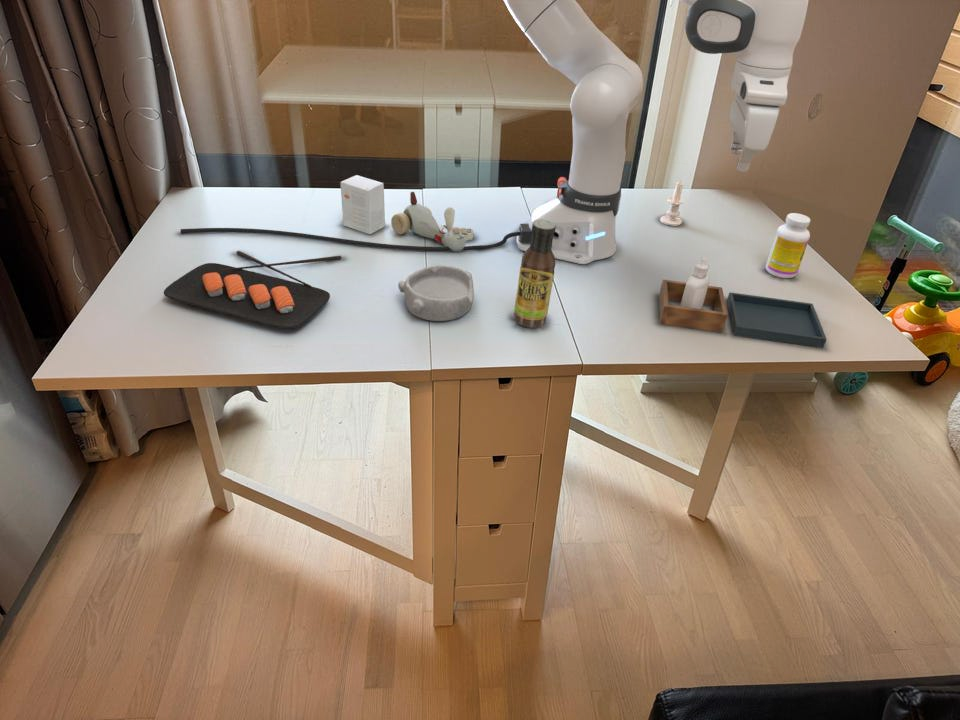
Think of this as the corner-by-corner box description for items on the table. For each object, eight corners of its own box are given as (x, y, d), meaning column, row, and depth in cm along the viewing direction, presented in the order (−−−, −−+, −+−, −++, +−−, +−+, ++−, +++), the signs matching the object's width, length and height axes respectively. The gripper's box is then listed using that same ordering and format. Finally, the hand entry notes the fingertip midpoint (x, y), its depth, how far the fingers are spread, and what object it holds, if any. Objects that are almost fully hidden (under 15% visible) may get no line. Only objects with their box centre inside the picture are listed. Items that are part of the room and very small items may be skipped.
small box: (385, 227, 164) (384, 183, 158) (369, 235, 160) (368, 190, 154) (358, 217, 167) (356, 174, 161) (342, 225, 163) (339, 181, 157)
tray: (733, 335, 135) (736, 326, 134) (726, 300, 145) (729, 292, 144) (823, 348, 133) (826, 339, 132) (809, 312, 144) (812, 303, 142)
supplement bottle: (798, 281, 154) (818, 226, 147) (766, 276, 155) (784, 221, 148) (793, 267, 159) (812, 213, 152) (763, 263, 160) (780, 209, 153)
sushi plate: (157, 302, 132) (153, 284, 130) (253, 237, 156) (251, 221, 153) (295, 339, 125) (293, 321, 123) (374, 266, 148) (373, 249, 146)
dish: (467, 284, 144) (469, 262, 142) (482, 321, 134) (484, 298, 131) (395, 288, 141) (395, 266, 139) (405, 326, 130) (405, 303, 128)
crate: (660, 323, 137) (664, 305, 134) (658, 296, 145) (662, 279, 143) (722, 332, 135) (727, 314, 133) (717, 304, 144) (722, 287, 141)
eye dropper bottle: (707, 318, 139) (723, 263, 132) (682, 321, 138) (696, 265, 131) (696, 306, 143) (710, 252, 136) (671, 309, 141) (684, 254, 134)
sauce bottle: (510, 326, 133) (519, 227, 121) (517, 309, 138) (527, 212, 126) (543, 332, 132) (557, 233, 120) (550, 316, 137) (563, 218, 125)
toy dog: (459, 257, 154) (461, 218, 149) (381, 239, 159) (380, 201, 153) (480, 235, 163) (482, 198, 158) (405, 218, 168) (405, 182, 163)
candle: (681, 218, 178) (691, 178, 172) (681, 227, 174) (691, 186, 167) (660, 215, 178) (669, 175, 172) (660, 224, 174) (669, 183, 168)
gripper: (732, 65, 130) (714, 141, 138) (748, 94, 113) (726, 179, 121) (768, 68, 129) (748, 144, 137) (789, 98, 112) (765, 183, 120)
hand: (738, 161), depth 129 cm, fingers open, 8 cm apart
